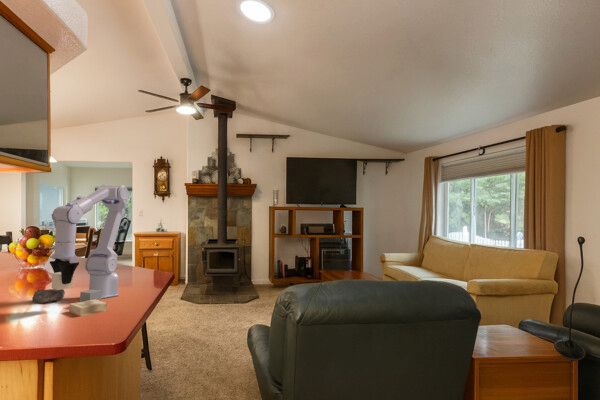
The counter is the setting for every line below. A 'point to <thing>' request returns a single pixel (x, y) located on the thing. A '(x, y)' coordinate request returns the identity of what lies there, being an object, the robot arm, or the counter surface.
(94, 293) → the slate cube
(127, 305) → the counter surface
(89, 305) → the maple slab
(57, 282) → the ivory cube
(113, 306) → the counter surface
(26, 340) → the counter surface
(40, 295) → the rock
